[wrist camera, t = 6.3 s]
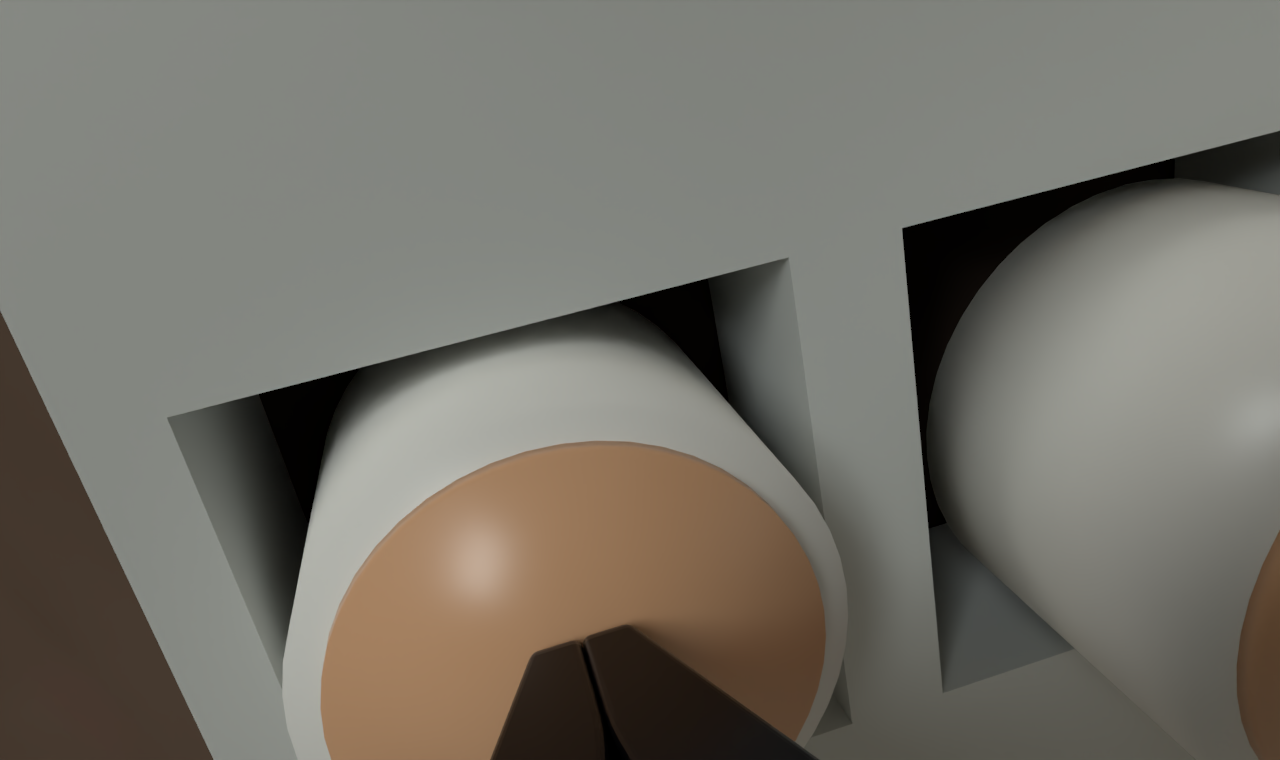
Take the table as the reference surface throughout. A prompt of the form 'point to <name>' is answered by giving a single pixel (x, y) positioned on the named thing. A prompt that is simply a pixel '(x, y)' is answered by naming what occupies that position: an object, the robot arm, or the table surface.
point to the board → (572, 271)
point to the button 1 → (547, 540)
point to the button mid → (1133, 448)
